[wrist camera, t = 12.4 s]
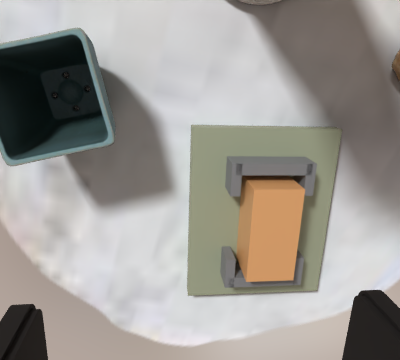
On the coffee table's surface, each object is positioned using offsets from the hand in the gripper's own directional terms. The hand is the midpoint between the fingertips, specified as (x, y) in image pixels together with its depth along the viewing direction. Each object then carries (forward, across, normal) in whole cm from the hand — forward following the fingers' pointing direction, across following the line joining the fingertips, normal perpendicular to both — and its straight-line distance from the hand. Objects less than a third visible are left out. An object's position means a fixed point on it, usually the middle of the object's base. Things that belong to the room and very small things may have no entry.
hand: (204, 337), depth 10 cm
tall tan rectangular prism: (+27, -10, +8) cm, 30 cm away
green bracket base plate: (+28, -10, +8) cm, 31 cm away
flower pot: (+28, +10, -5) cm, 31 cm away
